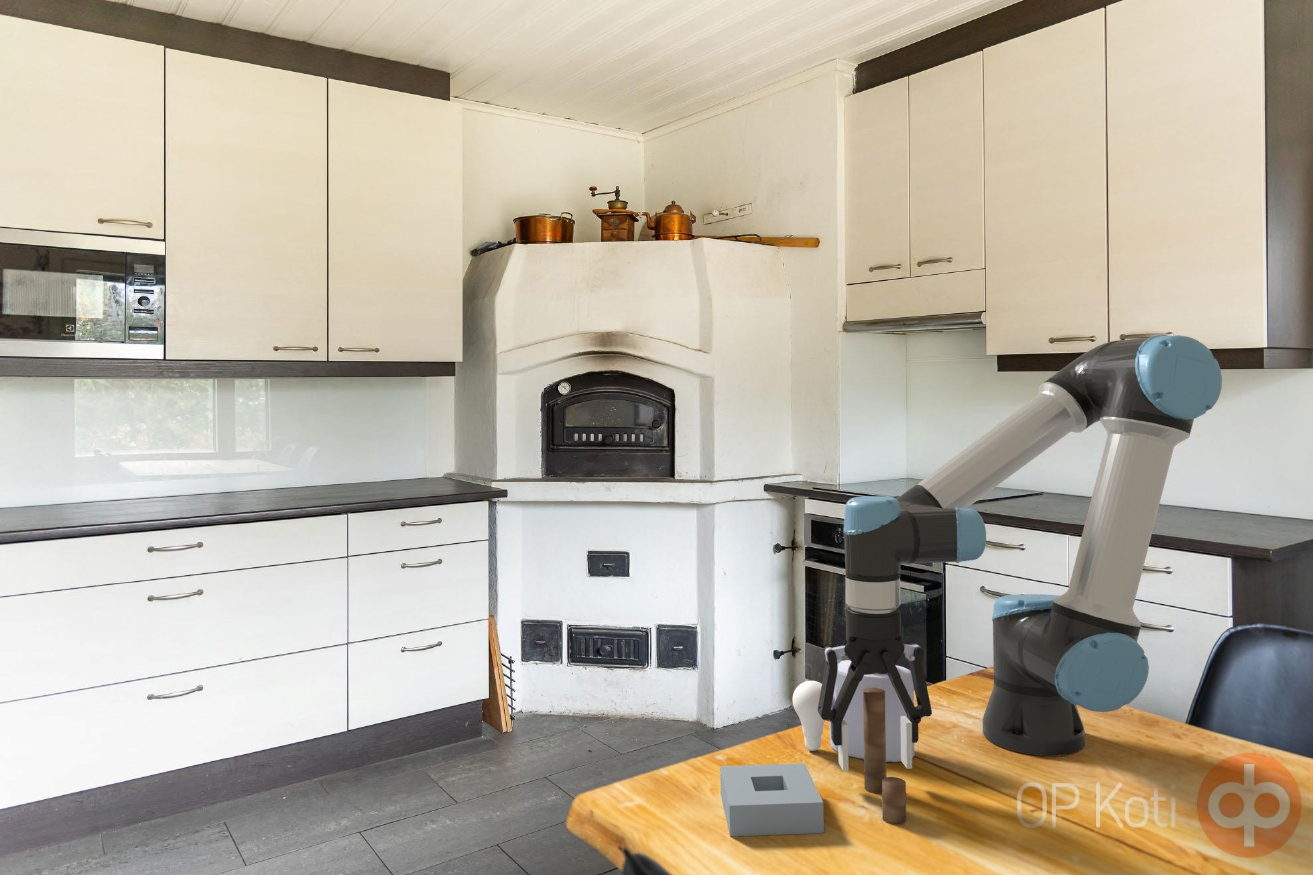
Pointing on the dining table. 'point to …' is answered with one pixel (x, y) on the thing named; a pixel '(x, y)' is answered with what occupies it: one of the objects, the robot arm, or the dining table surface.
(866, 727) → the long pin
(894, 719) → the soap bottle
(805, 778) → the collar block
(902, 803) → the short pin
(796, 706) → the lightbulb
